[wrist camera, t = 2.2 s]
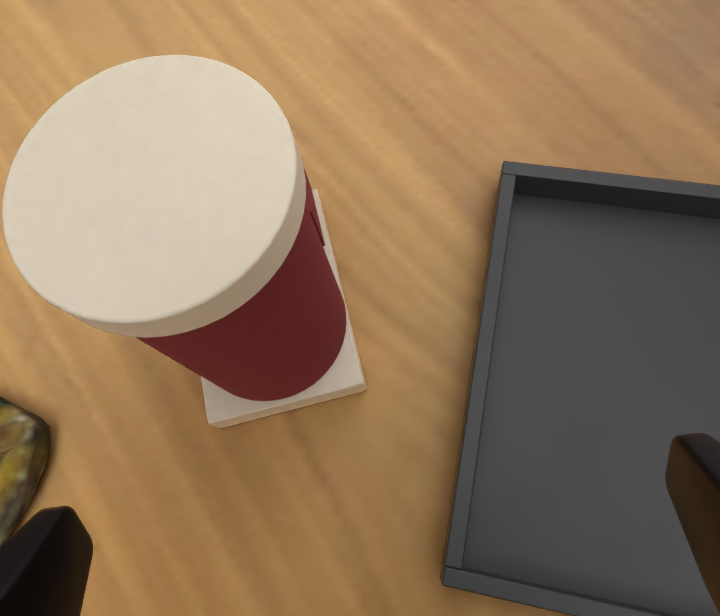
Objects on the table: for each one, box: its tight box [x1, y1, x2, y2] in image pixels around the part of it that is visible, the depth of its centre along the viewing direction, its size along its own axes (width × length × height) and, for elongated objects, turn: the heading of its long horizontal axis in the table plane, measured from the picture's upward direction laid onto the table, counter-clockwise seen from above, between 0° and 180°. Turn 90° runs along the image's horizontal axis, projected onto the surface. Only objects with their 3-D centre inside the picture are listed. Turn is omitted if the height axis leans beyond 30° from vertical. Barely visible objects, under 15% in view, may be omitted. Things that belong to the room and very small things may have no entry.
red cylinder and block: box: [2, 55, 367, 428], centre depth 19 cm, size 9×7×12 cm
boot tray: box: [440, 161, 720, 616], centre depth 22 cm, size 16×12×2 cm
